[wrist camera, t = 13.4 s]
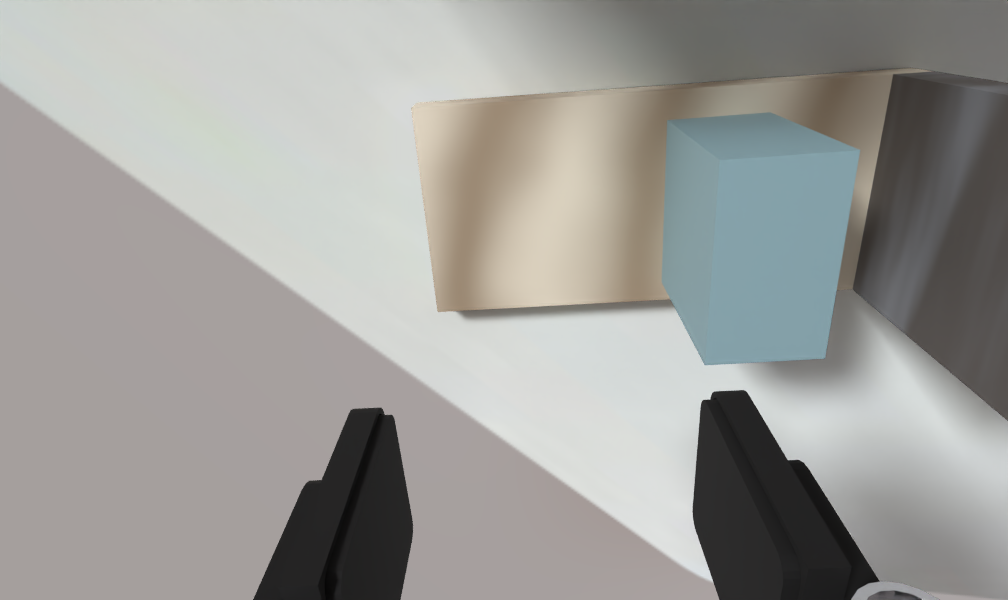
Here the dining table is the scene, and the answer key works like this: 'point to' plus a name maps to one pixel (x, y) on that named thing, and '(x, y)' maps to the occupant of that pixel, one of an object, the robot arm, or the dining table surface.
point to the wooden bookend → (641, 190)
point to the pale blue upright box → (755, 234)
